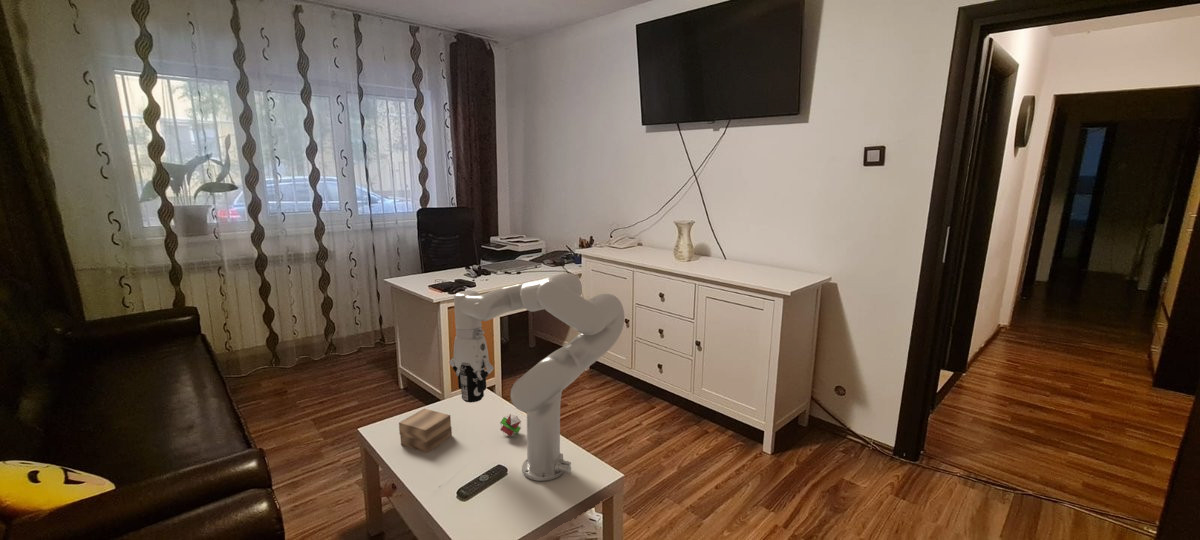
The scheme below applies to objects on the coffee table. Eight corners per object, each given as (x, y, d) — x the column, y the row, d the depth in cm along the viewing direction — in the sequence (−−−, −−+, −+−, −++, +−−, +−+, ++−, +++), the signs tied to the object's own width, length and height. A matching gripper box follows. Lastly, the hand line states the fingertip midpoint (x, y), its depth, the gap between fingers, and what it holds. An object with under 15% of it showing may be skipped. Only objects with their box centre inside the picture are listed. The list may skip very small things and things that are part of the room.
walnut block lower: (451, 437, 166) (451, 426, 166) (428, 454, 157) (427, 442, 156) (425, 430, 171) (425, 419, 170) (401, 446, 161) (400, 434, 160)
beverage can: (486, 394, 158) (484, 357, 156) (479, 403, 151) (477, 365, 149) (466, 394, 159) (464, 357, 156) (458, 403, 152) (456, 364, 150)
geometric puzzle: (496, 441, 164) (496, 418, 162) (503, 430, 170) (502, 408, 169) (518, 442, 163) (518, 419, 162) (524, 432, 170) (523, 410, 168)
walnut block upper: (450, 426, 166) (450, 415, 165) (426, 442, 156) (425, 430, 155) (425, 419, 170) (424, 408, 169) (399, 434, 160) (398, 422, 160)
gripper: (500, 332, 151) (503, 389, 154) (454, 326, 158) (457, 380, 161) (485, 339, 144) (488, 398, 148) (437, 332, 152) (441, 389, 155)
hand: (472, 388), depth 154 cm, fingers closed on beverage can, 6 cm apart
